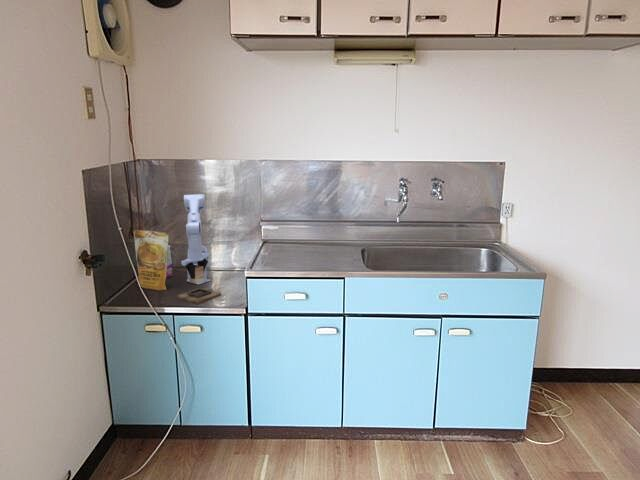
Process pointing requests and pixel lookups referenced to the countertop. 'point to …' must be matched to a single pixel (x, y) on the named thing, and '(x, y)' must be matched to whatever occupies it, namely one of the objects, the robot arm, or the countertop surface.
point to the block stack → (198, 274)
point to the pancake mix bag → (151, 258)
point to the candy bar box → (169, 264)
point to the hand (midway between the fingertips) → (197, 277)
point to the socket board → (199, 295)
